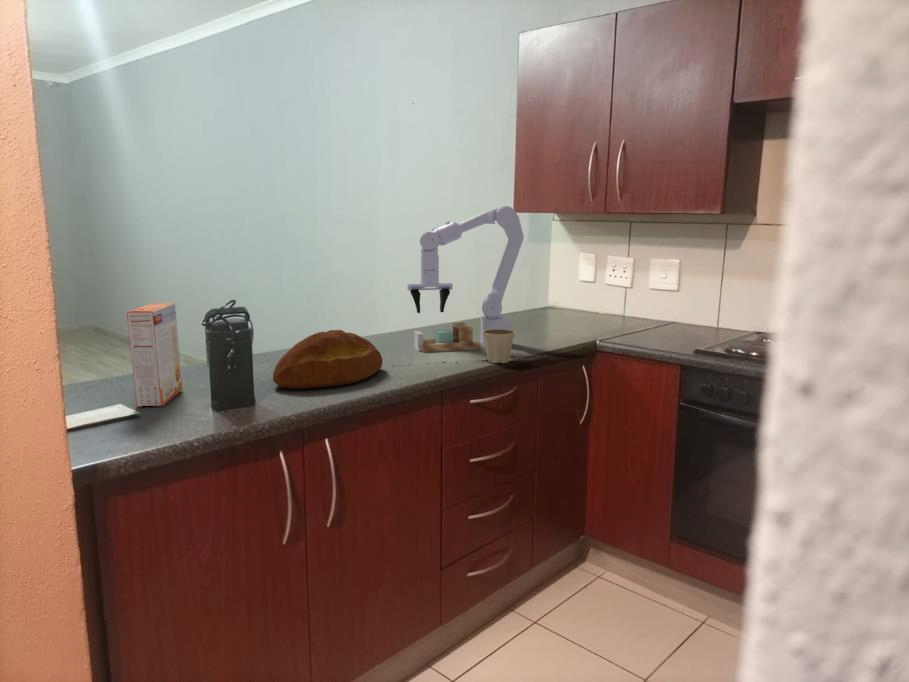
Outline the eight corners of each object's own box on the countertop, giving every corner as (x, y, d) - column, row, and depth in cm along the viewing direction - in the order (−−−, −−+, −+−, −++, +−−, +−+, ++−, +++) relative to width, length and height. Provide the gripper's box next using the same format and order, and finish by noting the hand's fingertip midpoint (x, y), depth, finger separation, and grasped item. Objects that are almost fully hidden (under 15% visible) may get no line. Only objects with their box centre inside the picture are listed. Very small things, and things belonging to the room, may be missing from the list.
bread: (251, 384, 161) (248, 334, 159) (356, 363, 185) (355, 320, 183) (300, 399, 147) (298, 345, 145) (407, 375, 171) (406, 328, 169)
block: (449, 344, 205) (449, 329, 205) (452, 346, 201) (452, 332, 200) (435, 344, 204) (435, 330, 204) (438, 347, 200) (438, 332, 199)
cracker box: (157, 391, 153) (149, 302, 150) (183, 391, 154) (177, 302, 150) (133, 408, 140) (124, 310, 136) (162, 407, 140) (154, 310, 136)
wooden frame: (471, 346, 210) (471, 322, 209) (480, 351, 201) (480, 327, 199) (416, 348, 206) (416, 324, 205) (422, 354, 196) (422, 329, 195)
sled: (451, 345, 207) (451, 329, 206) (456, 349, 200) (456, 332, 199) (414, 347, 204) (414, 330, 203) (418, 351, 197) (418, 334, 197)
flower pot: (518, 359, 189) (519, 329, 188) (510, 366, 181) (511, 335, 179) (487, 357, 193) (487, 328, 191) (478, 363, 184) (478, 333, 182)
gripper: (448, 268, 215) (449, 310, 218) (405, 269, 212) (405, 311, 214) (454, 270, 209) (454, 312, 211) (409, 271, 205) (409, 314, 208)
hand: (430, 312), depth 212 cm, fingers open, 7 cm apart
